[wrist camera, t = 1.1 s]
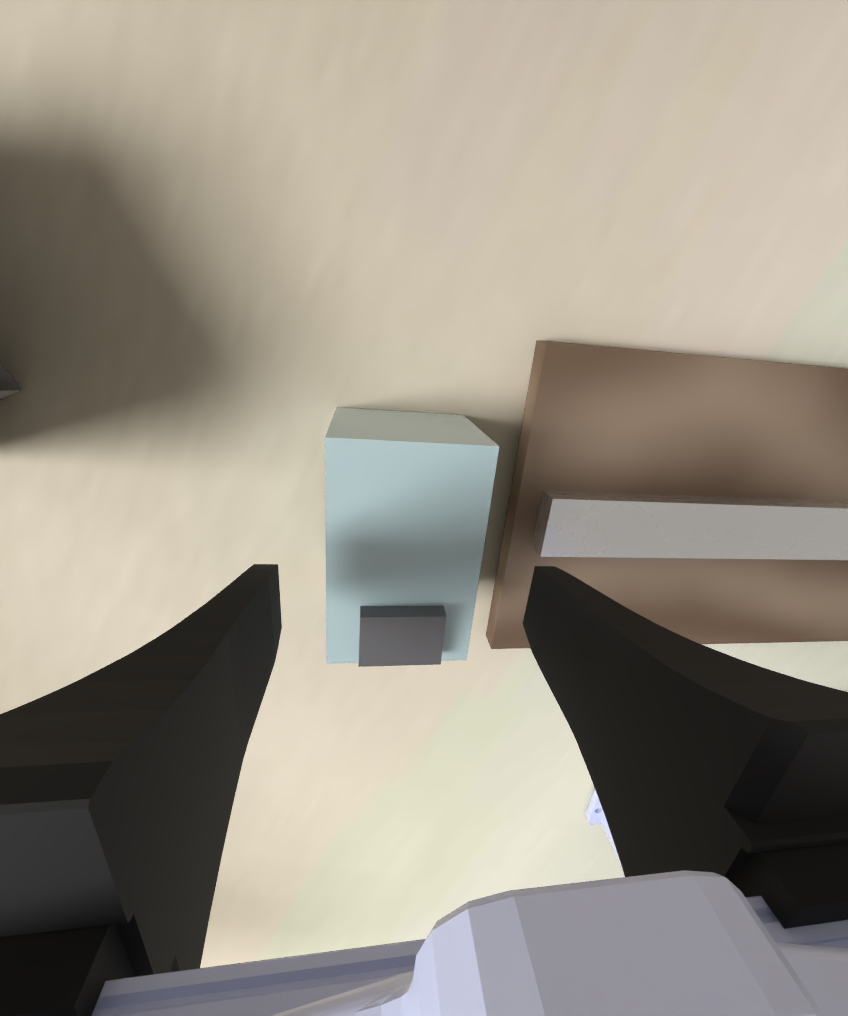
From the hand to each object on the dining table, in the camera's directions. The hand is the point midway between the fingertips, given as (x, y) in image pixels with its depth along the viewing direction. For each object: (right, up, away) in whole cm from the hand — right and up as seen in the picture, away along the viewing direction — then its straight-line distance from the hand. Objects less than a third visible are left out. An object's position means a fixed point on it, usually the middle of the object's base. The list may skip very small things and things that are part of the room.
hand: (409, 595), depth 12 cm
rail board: (+15, +2, +9) cm, 17 cm away
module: (-1, +3, +6) cm, 7 cm away
